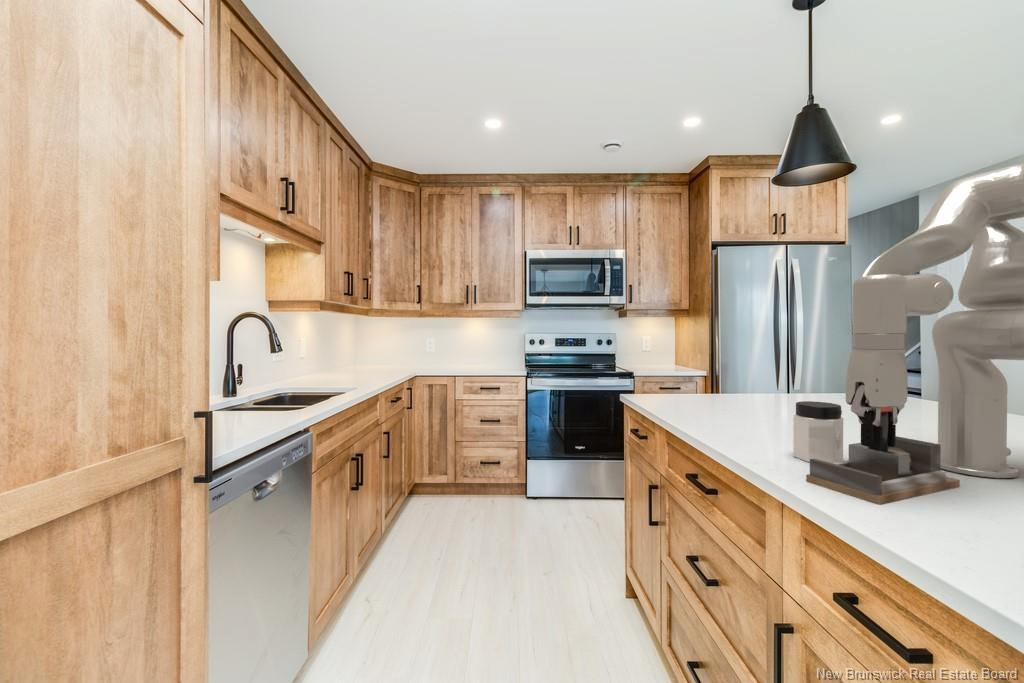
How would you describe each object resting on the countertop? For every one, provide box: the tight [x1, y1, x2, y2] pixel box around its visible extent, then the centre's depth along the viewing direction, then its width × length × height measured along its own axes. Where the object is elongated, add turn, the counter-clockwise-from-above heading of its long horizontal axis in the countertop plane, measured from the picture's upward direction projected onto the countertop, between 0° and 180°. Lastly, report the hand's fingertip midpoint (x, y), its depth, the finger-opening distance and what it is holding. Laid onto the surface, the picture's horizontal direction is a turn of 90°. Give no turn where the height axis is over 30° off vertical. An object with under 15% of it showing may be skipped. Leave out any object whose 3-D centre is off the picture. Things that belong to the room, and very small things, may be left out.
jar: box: [792, 400, 844, 463], centre depth 95 cm, size 9×8×12 cm
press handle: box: [848, 403, 910, 481], centre depth 79 cm, size 4×8×13 cm, turn 20°
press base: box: [805, 435, 961, 505], centre depth 80 cm, size 22×12×7 cm, turn 110°
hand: (877, 444), depth 79 cm, fingers closed on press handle, 2 cm apart
